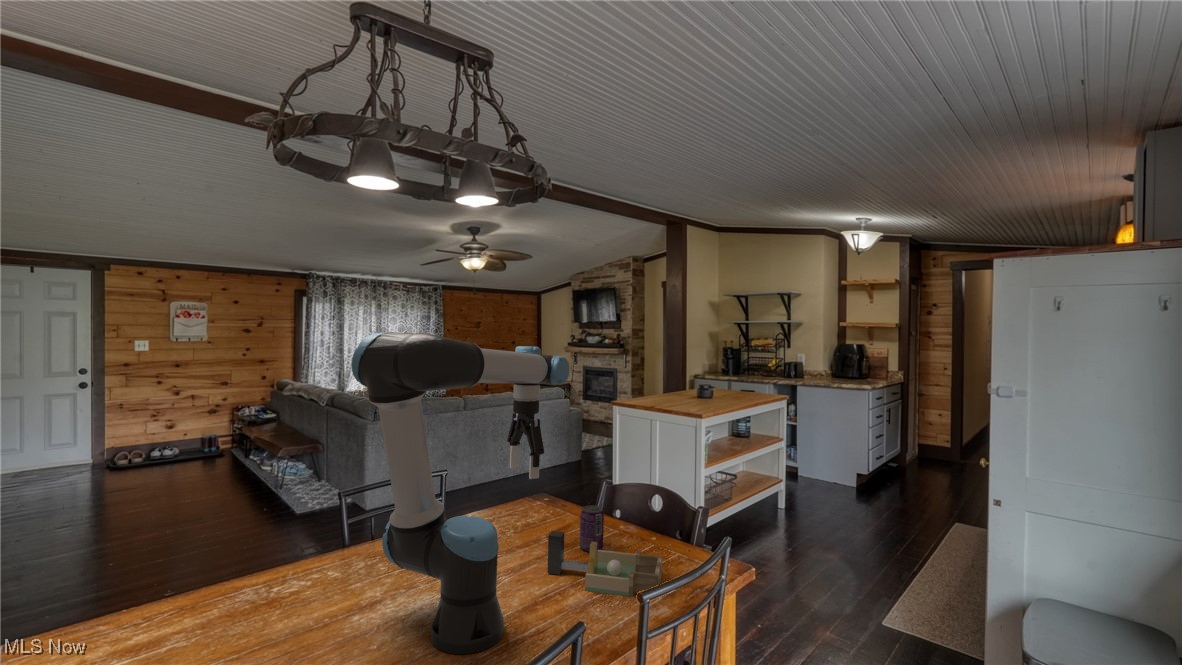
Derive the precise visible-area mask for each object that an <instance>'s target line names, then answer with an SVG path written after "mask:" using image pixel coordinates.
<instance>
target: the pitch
mask: <svg viewBox="0 0 1182 665" xmlns="http://www.w3.org/2000/svg"><path fill="white" fill-rule="evenodd" d="M597 554H598V568H597V570H596V572H595V574H590V573H588V572H586V573H585V577H584V579H585V580H584V581H585V584H584V585H585V586H584V590H585V592H593V593H601V594H608V595H616V596H624V597H630V596H629V575H630V572H631V571H635V570H636V553H630V552H623V551H622V552H621V551H613V550H603V549H600V550H598V551H597ZM611 560H617V561H619V562H620V563H621V565H622V571H621V573H620V574H619V575H618V576H611V575H610V574H609V573H608V571H607V564H608V563H609V562H610V561H611Z"/></svg>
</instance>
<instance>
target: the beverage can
mask: <svg viewBox="0 0 1182 665" xmlns="http://www.w3.org/2000/svg"><path fill="white" fill-rule="evenodd" d="M579 516H580V517H579V518H580V519H579V548H580V549H582V550H584V551H586V552H589V553H590V544H591V542H597V551H598V550H603V548H604V531H605V530H604V525H605V524H604V523H605V522H604V520H605V514H604V512H603V507H601V506H600V505H586V506H583V507H582V508H581V511H580V515H579Z"/></svg>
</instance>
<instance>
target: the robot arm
mask: <svg viewBox="0 0 1182 665" xmlns="http://www.w3.org/2000/svg"><path fill="white" fill-rule="evenodd" d="M514 350H515V351H511V350H501V349H490V348H481V347H480V346H478V345H477V343H475V342H469V341H462V340H458V339H454V338H449V337H445V336H440V335H437V334H432V333H431V334H430V333H412V332H411V333H410V332H394V331H386V332H384V331H383V332H377V333H376V332H375V333H372V334H369V335H367V336H366V337H365V338H364V339H362V340H361V341H360V342H359V343H358V345H357V348H355V350H354V351H353V354H352V358H351V372H352V375H353V378H354V379H355V380H356V381H357V382H358V383H359V384H361V385H362V386H363V387H366V390H367V394H368V399H369V401H368V402H369V403H370V404H372V405H374V406H376V407H377V408H378V411H379V413H378V414H379V416H380V417H379V419H380V424H381V431H382V436H383V442H384V449H385V455H386V460H387V466H388V472H389V473H388V474H389V478H390V484H391V491H392V497H393V503H394V508H395V509H394V510H393V511H392V512H391V514H390V516H389V520H388V522H387V524H386V525H385V532H384V533H383V534H382V543H381V544H382V549H383V553H384V555H385V557H386V559H387V561H389V562H390V563H391V564H393V565H395V566H397V567H399V568H400V569H403V570H406V571H411V572H414V573H418V574H422V575H425V576H427V577H431V578H434V579H438V580H440V598H439V602H438V605H437V608H436V611H435V614H434V617H433V619H432V623H431V625H430V626H431V627H430V642H431V644H432V645H433V646H434V647H435V648H436V649H437V650H439V651H441V652H444V653H448V654H453V655H468V654H469V655H471V654H474V653H480V652H482V651H485V650H487V649H490V648H491V647H493V646H494V645H495V644H497V643H498V642H499V641H500V640H501V639H502V638H503V635H504V633H505V632H504V631H505V627H504V624H505V619H504V616H503V613H502V610H501V606H500V602H499V600H498V596H497V588H498V586H497V584H498V578H497V577H498V557H499V556H498V555H499V553H498V552H499V548H500V546H499V541H498V539H499V538H498V532H497V528H496V527H495V525H494V524H493V523H492V522H490V520H487V519H485V518H482V517H479V516H476V515H475V516H474V515H470V516H467V515H457V516H454V517H450V518H449V519H447V518H446V512H445V506H444V503H443V502H442V501H440V500H438V499H436V493H435V485H434V480H433V473H432V467H431V466H432V465H431V458H430V453H429V451H430V450H429V446H428V445H429V444H428V440H427V433H426V426H425V419H424V413H423V412H424V411H423V405H422V399H423V397H424V396H425V395H426V394H427V393H428V392H431V391H432V392H433V391H441V390H443V391H444V390H451V389H466V388H467V389H468V388H469V389H470V388H473V387H474V386H476V385H477V384H513V392H512V393H513V394H512V395H513V399H514V400H513V402H512V412H513V413H512V416H511V418H512V419H511V423H510V428H509V431H508V435H507V443H509V446H510V450H509V451H510V452H509V454H510V456H509V469H517V468H520V459H521V457H520V455H521V454H520V453H521V446H520V445H521V442H520V441H521V439H522V437H523V436H524V435H525V436H526V438H527V442H528V446H529V449H530V453H529V467H528V468H529V469H528V470H529V471H528V478H529V480H534V479H539V478H540V461H541V460H540V459H541V458H540V457H541V455H544V454H545V449H544V448H545V447H544V442H543V435H542V430H541V418H535V415H536V414H539V412H540V400H539V398H540V392H541V386H540V385H541V384H542V385H552V386H555V385H557V386H558V385H559V386H561V385H564V384H565V383H566V382H567V381H568V379H569V375H570V370H571V369H570V367H571V366H570V362H569V360H568V359H567V357H565V356H562V355H556V354H554V355H552V354H551V355H548V354H542V351H541V348H540V347H539V346H532V345H531V346H528V345H527V346H524V345H519V346H516V347H515V349H514Z"/></svg>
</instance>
